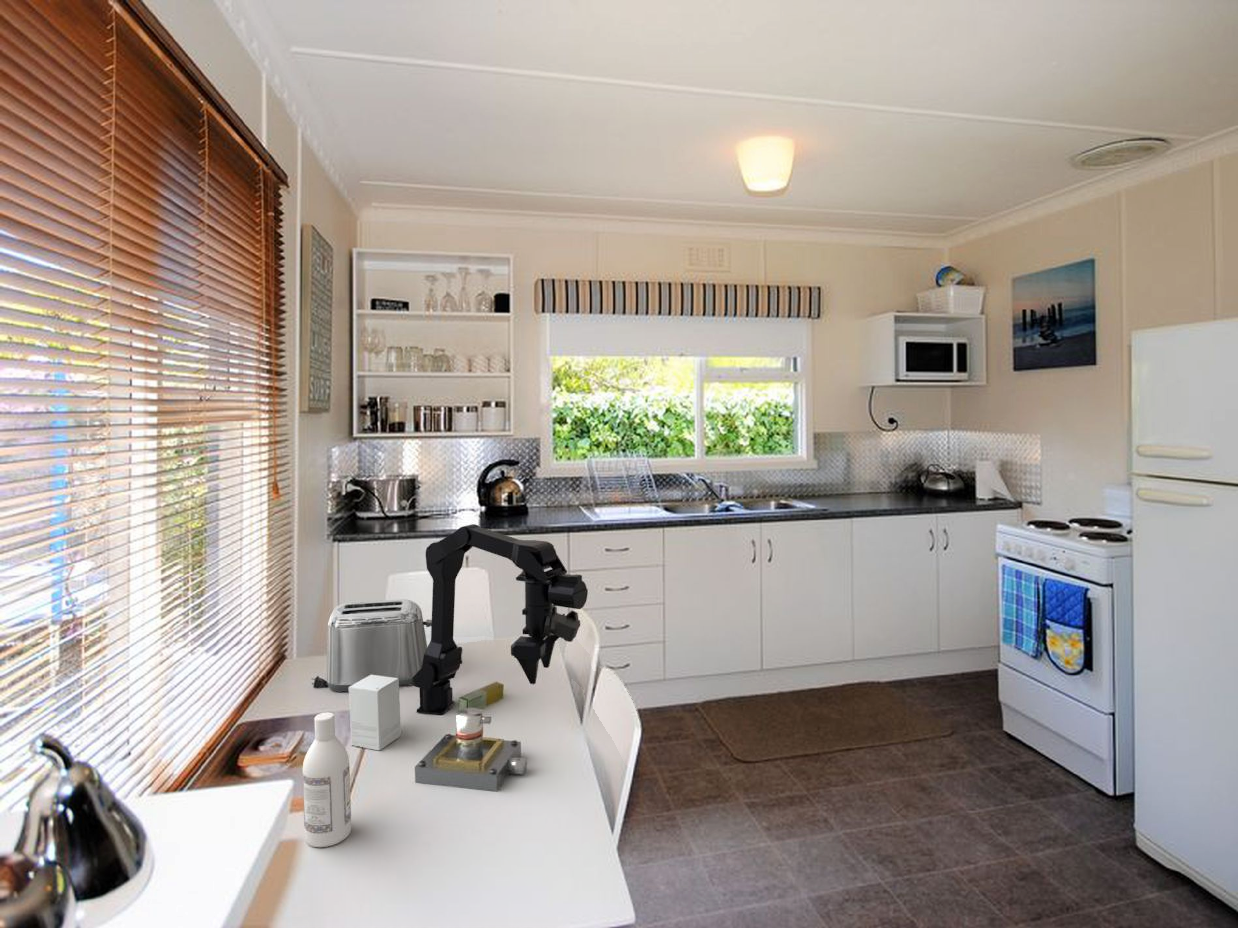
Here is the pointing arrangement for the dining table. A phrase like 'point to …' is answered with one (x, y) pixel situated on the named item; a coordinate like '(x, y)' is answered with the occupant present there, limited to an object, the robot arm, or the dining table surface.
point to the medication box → (482, 696)
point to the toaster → (374, 642)
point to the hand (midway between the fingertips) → (539, 675)
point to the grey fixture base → (471, 765)
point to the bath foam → (326, 786)
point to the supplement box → (374, 712)
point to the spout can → (470, 733)
